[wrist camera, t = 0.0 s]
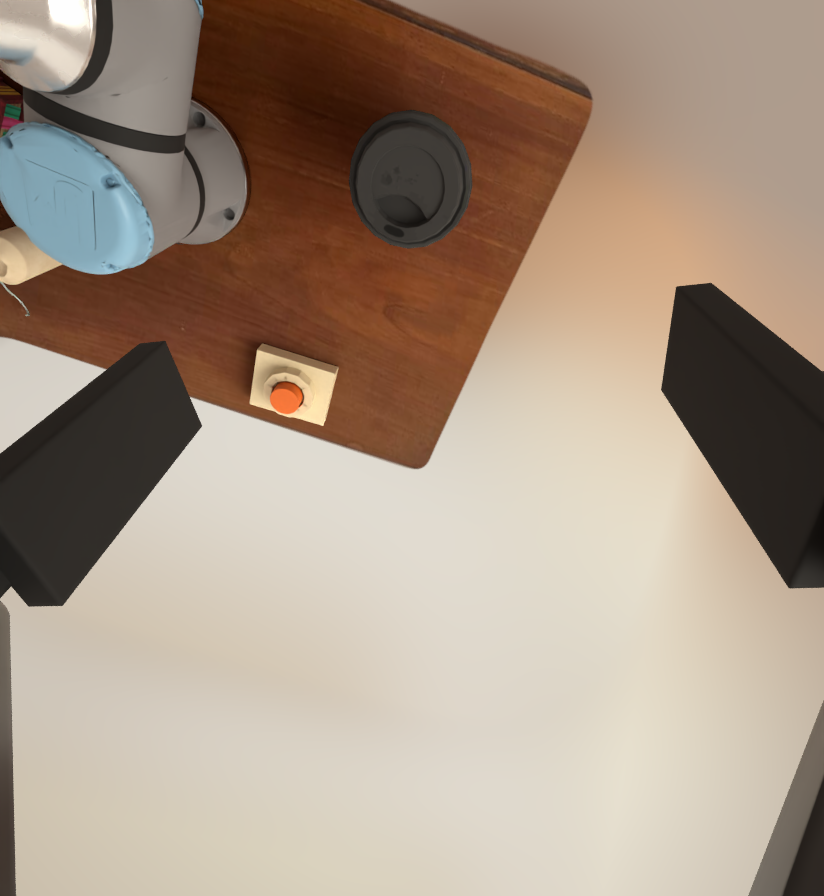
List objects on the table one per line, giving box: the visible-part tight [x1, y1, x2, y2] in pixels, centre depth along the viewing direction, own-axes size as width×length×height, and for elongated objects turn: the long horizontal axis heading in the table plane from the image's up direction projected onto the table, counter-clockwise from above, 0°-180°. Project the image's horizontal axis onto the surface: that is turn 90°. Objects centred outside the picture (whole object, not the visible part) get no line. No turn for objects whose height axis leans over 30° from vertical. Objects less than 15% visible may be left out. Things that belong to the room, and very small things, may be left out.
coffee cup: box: [349, 110, 472, 248], centre depth 52 cm, size 11×11×15 cm
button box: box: [250, 343, 338, 426], centre depth 73 cm, size 11×9×4 cm
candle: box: [0, 226, 62, 285], centre depth 62 cm, size 6×6×10 cm
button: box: [270, 382, 303, 414], centre depth 71 cm, size 4×4×2 cm
